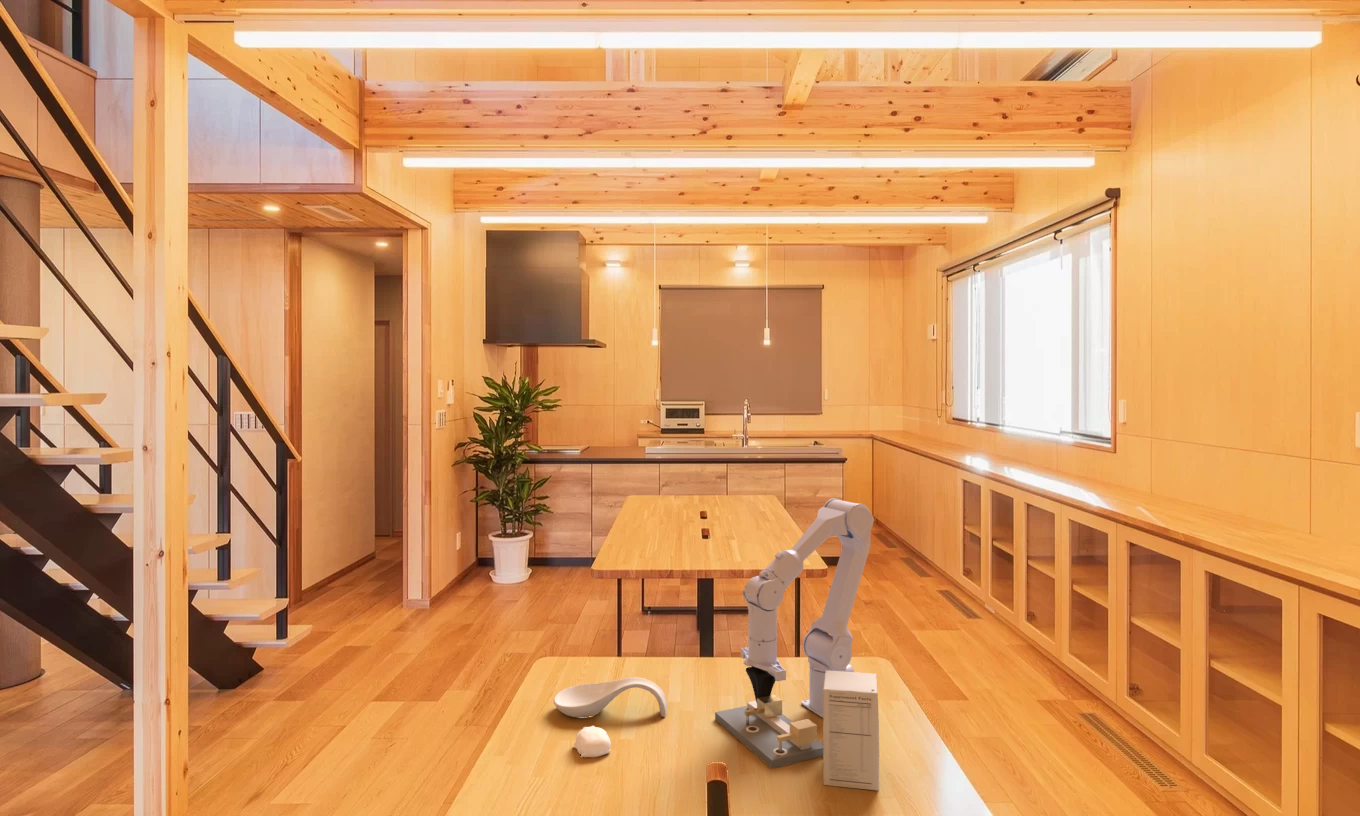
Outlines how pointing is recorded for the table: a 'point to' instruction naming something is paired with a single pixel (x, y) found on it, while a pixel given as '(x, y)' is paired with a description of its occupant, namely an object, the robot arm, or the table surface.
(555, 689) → the table surface
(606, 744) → the white rounded lump
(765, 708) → the sliding trammel head
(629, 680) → the spoon rest
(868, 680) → the supplement box
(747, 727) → the plate
